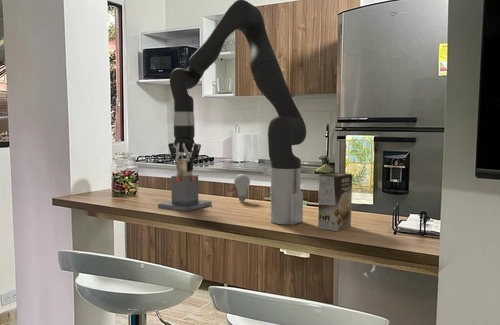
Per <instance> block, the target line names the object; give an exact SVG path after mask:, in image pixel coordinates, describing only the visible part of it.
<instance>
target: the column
mask: <svg viewBox="0 0 500 325" xmlns="http://www.w3.org/2000/svg"><path fill="white" fill-rule="evenodd" d="M187 162H188V161H187V158H182V159H179V160H177V166H176V167H177V168H176V175H177V176H181V177H188V176H193V175H194V174H193V171H192V172H187Z"/></svg>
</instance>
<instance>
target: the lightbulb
mask: <svg viewBox="0 0 500 325" xmlns="http://www.w3.org/2000/svg"><path fill="white" fill-rule="evenodd" d="M250 180H251V179H250V177H249V176H248V175H247V174H244V173H240V174H237V175H236V176H235V177H234V183H233V184H234V186H235V188H236V191H237V195H238V201H240V202H242V203H243V202H245V200H246V196H247V190H248V188H249V186H250V184H251V181H250Z"/></svg>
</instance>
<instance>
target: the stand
mask: <svg viewBox="0 0 500 325" xmlns="http://www.w3.org/2000/svg"><path fill="white" fill-rule="evenodd" d="M170 177H171V178H170V180H171V182H170V183H171V184H170V186H171V188H170V189H171V200H167V201H163V202H159V203H157V208H158V209H164V210H165V209H166V210H173V211H180V212H181V211H182V212H187V213H189V212H193V211H195V210H196V211H197V210H200V209H203V208H207V207H211V206H212V205H213V202H212V201H211V200H205V199H204V200H203V199H199V175H198V174H197V175H196V174H193V176H188V177H181V176H177V174H175V175H171V176H170Z"/></svg>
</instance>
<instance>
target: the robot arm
mask: <svg viewBox="0 0 500 325" xmlns="http://www.w3.org/2000/svg"><path fill="white" fill-rule="evenodd" d="M236 30H238V31H240V32H242V33H243V35H244V37H245V39H246V41H247V44H248V46H249V50H250V54H249V68H250V71H251V74H252V78H253V80H254V83H255V86H256V87H257V88H258V90H259V91H260V93H261V94H262V95H263V96H264V97H265V98H266V100H268V102H270V104H271V105H272V106H273V108H274V110H275V111H276V113H277V116H275V117H273V118H272V119H271V120H270V122H269V124H268V130H267V144H268V145H267V146H268V156H269V161H270V163H271V165H270V166H271V167H270V222H271V223H273V224H277V225H297V224H299V223H301V222H303V219H304V217H303V216H304V213H303V211H304V210H303V209H304V203H303V202H304V192H303V191H301V182H302V181H301V180H302V178H301V175H302V174H301V173H302V170H301V167H302V161H301V159H300V157H298V156H296V155H295V154H294V152H293V146H297V145H300V144H302V143H303V142H304V141H305V140H306V137H307V127H306V123H305V121H304V119H303V117H302V114H301V113H300V110H299V109H298V106H296V103H295V101H294V99H293V97H292V95H291V92H290V90H289V87H288V84H287V82H286V80H285V77H284V74H283V71H282V68H281V66H280V63H279V61H278V58H277V56H276V55H275V54H276V53H275V52H274V49H273V47H272V44H271V42H270V40H269V37H268V33H267V29H266V25H265V20H264V17H263V15H262V13H261V11H260V9H259V8H258V7H257V6H255V5H253V4H252V3H250V2H249V1H247V0H235V1H233V2H232V3H231V5H230V6H228V8H227V9H226V11H225V12H224V14H223V15H222V16H221V18H220V20H219V21H218V23H217V24H216V26H215V27H214V28H213V30H212V31H211V33H210V34H209V36H208V37H207V38H206V40H205V41H204V42H203V43H202V44H201V46H200V47H199V48H197V50H196V51H194V53H193V54H192V55H191V56H190V57H189V59H188V64H189V65H188V67H187V68H180V67H177V68H174V69H173V70H172V71H171V73H170V75H169V86H170V90H171V93H172V98H173V109H174V110H173V111H174V112H173V137H174V141H173V142H171V143H168V149H169V153H170V157H171V159H172V160H175V161H176V168H175V169H177V160H179V159H183V157H184V155H185V157H186V159H187V161H188V162H187V172H192V173H193V170H194V162H195V161H196V160H198V158H199V155H200V152H201V151H200V150H201V147H202V145H201V144H200V143H196V141H195V136H196V135H195V134H196V132H195V130H196V128H195V113H194V111H195V110H194V109H195V106H194V103H195V102H194V97H192V96H191V95H189V92H188V90H190V89H194V87H196V86H197V84H199V82H200V80H201V79H202V77H203V75H204V74H205V72H206V71H207V70H208V69H209V68H210V67H211V66H212V65H213V64H214V63H215V62H216V61H217V59H218V58H219V56H220V54H221V52H222V49H223V47H224V45H225V44H224V43H226V40H227V39H228V38H229V37H230V35H231V34H233V33H234V32H235V31H236Z"/></svg>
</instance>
